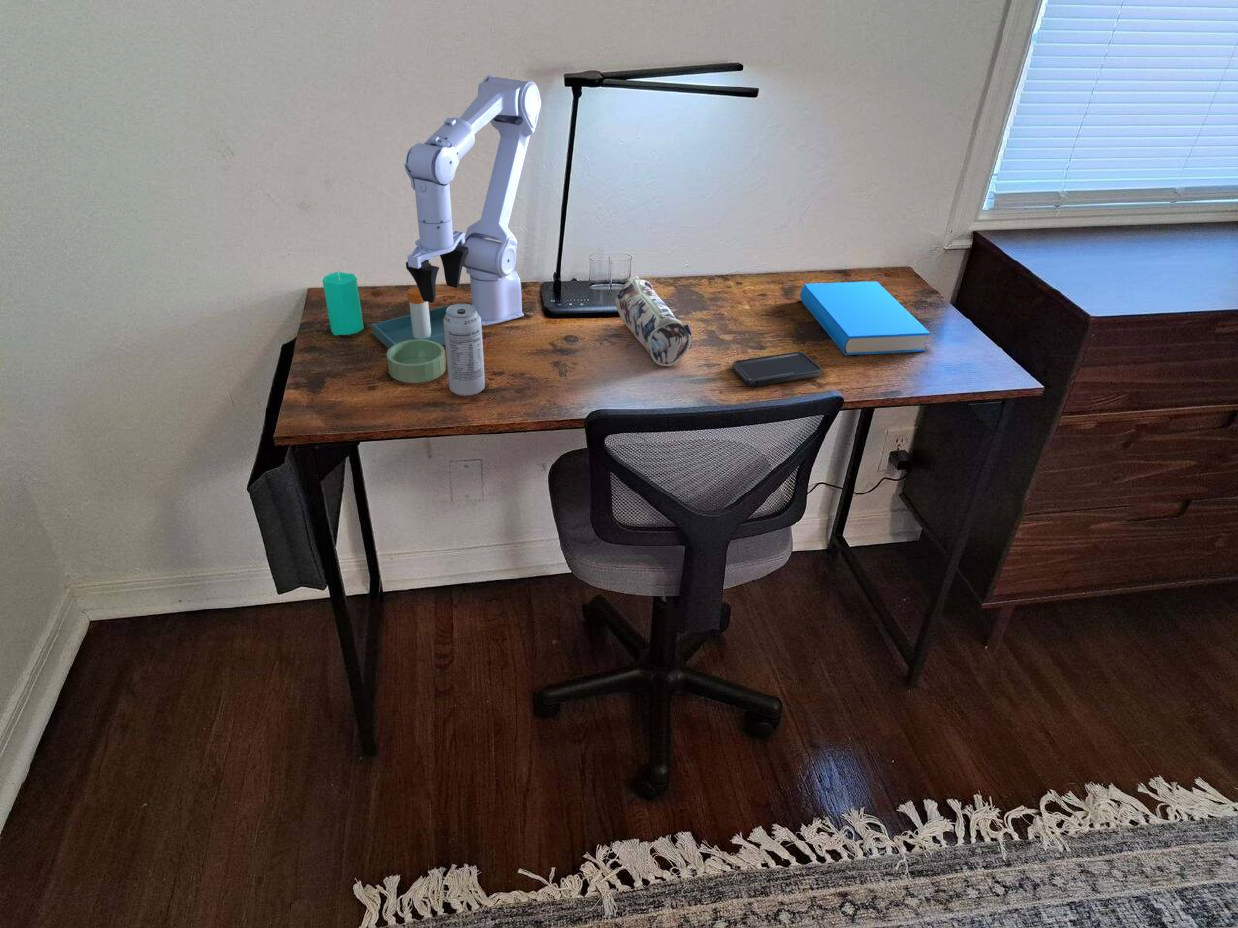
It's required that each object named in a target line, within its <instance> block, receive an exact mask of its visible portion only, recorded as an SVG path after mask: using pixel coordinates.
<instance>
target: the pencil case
mask: <svg viewBox="0 0 1238 928" xmlns="http://www.w3.org/2000/svg"><path fill="white" fill-rule="evenodd" d="M626 282H627V283H624V284H623V285H622V286H621V287H620V288H619V289H618V291H617V292H616V295H615V299H614V304H615V307H616V310H617V312H618V314H619V317H620V319H621V320H622V322H623V323H624V324H625V326H626V327H627V328H628V329H629V331H630V332H631V333H632V334H633V336H634V337H635V338H636V340H637V341H638V342H639V343H640V344H641V345H642V347H643V348H644V349H645V350H646V352H647V353H648V354H649V355H650V357H651V359H652V360H653V362H654V363H656V364H657V365H659V366H662V367H673V366H674V365H675V364H676V363H678V361H679V360H681V359H682V358H683V357H684V356H685V354H686V353H687V352H688V350H689V348H690V345H691V339H692V338H691V336H692V335H693V333H692V331H691V328H690V326H689V324H685V323H684V322H683V321H681V320H680V319H677V318H676V317H675V315H674V313H673V312H672V310H671V309H670V307H669V306H668V305H667V304H666V303H665V302H664V301H663V300H662V299H661V298H660V297H659V295H658V294H657V293H656V291H655V289H654V286H653V285H652V284H651V283H650V282H649V281H648V280H645V279H640V277H639V276H638V275H634V276H631V277H629V278H628V279H626Z"/></svg>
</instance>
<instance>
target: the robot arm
mask: <svg viewBox="0 0 1238 928" xmlns="http://www.w3.org/2000/svg"><path fill="white" fill-rule="evenodd" d="M540 94H541V93H540V91H539V88H538V86H537V84H536V82H535V81H532V80H520V79H512V78H506V77H499V76H495V75H492V74H489V75H487V76H485V77H484V79H483V80H482V81H481V82H480V83H478V87H477V95H476V96H475V98H474V99H473V100H472V102H471V103H470V105H469V106H468V107H467V108H466V109H465V110H464V112H463V113H462V114H461V116H459V117H446V119H445V120H444V121H443V124H442V125H441V126H440V127H439V128H438V129H437V130H436V131H435V132H434V133H433V134H432V135H431V136H430V137H429V138H428V139H427V140H426V141H425V142H423V143H421V142H419V143H416V144H414V145H412V146H411V147H410V148H409V149H408V151H407V152H406V157H405V163H404V165H403V166H404V170H405V173H406V175H407V176H408V178H409V180H410V186H411V188H412V190H413V191H415V192H414V194H415V205H416V214H417V215H416V216H417V227H418V236H419V238H418V239H416V240H415V241H414V242H415V248H414V249H413V251H412V252H411V253H409V254H408V255H407V257H406V258H407V261H406V262H405V268H406V270H407V271H408V272H409V274H410V275H411V277H412V279H413V280H414V282H415V284H416V287H418V288H419V291H420V294H421V296H422V299H423V301H426V302H428V303H430V304H432V303H435V301H436V283H437V277H438V273H439V270H440V267H439V266H437V265H432V263H431V262H430V260H432V259H434V258H436V257H438V256H439V258H440V259H441V260H440V261H441V263H442V267H443V273H444V281H445V284H446V286H447V287H451V288H455V289H457V288H459V286H460V281H461V276H462V270H463V268H465V272H466V274H468V275H469V283H470V284H469V285H470V296H471V297H470V298H471V305H473V306H475V307H476V309H477V313H478V314H479V316H480V317H481V326H483V327H484V326H488V325H497V324H501V323H504V322H508V321H512V320H515V319H519V318H523V317H524V316H525V313H524V312H523V305H522V302H523V301H522V284H521V283H522V282H521V279H520V277H519V275H518V273H517V271H516V270H515V267H516V265H517V264H516V263H517V246H518V240H517V238H516V236H515V235H514V233H513V232H512V231H511V230H510V228H509V223H510V219H511V215H512V211H513V207H514V203H515V199H516V195H517V191H518V186H519V183H520V178H521V175H522V170H523V168H524V167H523V166H524V163H525V157H526V154H527V149H528V147H529V146H528V145H529V142H530V137H531V136H532V135H533V134H534V133H535V131H536V126H537V124H538V119H539V115H540V112H541V106H542V99H541V95H540ZM489 123H490V124H491V126H492V127H493V128H494V129H496V130H497V132H498V133H499V135H500V137H499V138H500V139H499V143H498V146H497V149H496V150H497V151H496V155H495V159H494V163H493V167H492V171H491V174H490V178H489V184H488V186H487V187H488V188H487V191H486V196H485V200H484V205H483V208H482V213H481V217H480V219H479V220H477V221H475V222H474V223H472V224H471V225H469V226H468V227H467V228H466V232H463V231H457V230H453V215H452V200H451V187H450V185H451V184H450V182H452V181H454V180H453V179H454V178H455V175H456V171H457V168H458V166H459V165H460V160H462V158H464V156H465V155H466V154H467V153H468V152H469V151H470V150H471V149H472V148H473V147H474V146H475V142H476V138H475V135H476V134H477V133H478V132H479V131H480V130H482V129H484V128H485V126H486V125H487V124H489Z"/></svg>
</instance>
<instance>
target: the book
mask: <svg viewBox="0 0 1238 928" xmlns="http://www.w3.org/2000/svg"><path fill="white" fill-rule="evenodd" d="M799 296H800V299H801V300H800V301H801V303H802V304H803V305H804V306H805V308H806V309H807V310H808V312H809V313H810V314H811V315H812V316H813V317H814V319H815V320H816V321H817V322H818V323H819V325H820V326H821V328H823V330H824V331H825V332H826V333H827V335H828V336H829V337H830V339H831V340H832V341H833V342H834V343H835V345H837V347H838V348H839V350H840V351H841V352H842V353H843V355H844V356H853V355H854V356H855V355H856V356H857V355H875V354H877V355H879V354H895V353H896V354H897V353H899V354H900V353H916V352H917V353H918V352H926V348H925V347H926V344H927V341H928V340H927V339H928V336H930V335H931V332H930V331H929V330H927V328H926V327H925V326H924V325H923V324H922V323H921V322H919V320H918V319H917V318H916V317H914V316H913V315H912V314H911V312H909V311H908V310H907V309H906V307H904V306H903V304H901V303H900V302H899V301H898V300H897V299H896V298H895V297H894V296H893V295H891V293H889V291H887V289H886V288H885V287H884V286H883V285H881V284H880V283H879V282H878V281H875V280H874V281H850V282H847V281H846V282H818V283H815V282H814V283H803V286H802V288H801V289H800V295H799Z"/></svg>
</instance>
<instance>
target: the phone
mask: <svg viewBox="0 0 1238 928" xmlns="http://www.w3.org/2000/svg"><path fill="white" fill-rule="evenodd" d="M822 368H823V367H821V366H820V365H819V364H818V363H816V362H815V361H814V360H813V359H812V358H811V357H810V356H809V355H808V354H806V353H805V352H802V351H792V352H787V353H780V354H773V355H766V356H760V357H751V358H746V359H740V360H739V359H737V360H734V361H733V362H732V366H731V370H732V371H733V372H734V373H735V374H736V375H737V376H738V377H739V378H740V379H741V380H742V381H743V382H744V383H745V385H747V386H748V387H760V386H765V385H766V386H767V385H772V384H773V385H774V384H779V383H785V382H792V381H797V380H799V381H800V380H803V379H810V378H818V377H820V376H821V374H822V370H823V369H822Z"/></svg>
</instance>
